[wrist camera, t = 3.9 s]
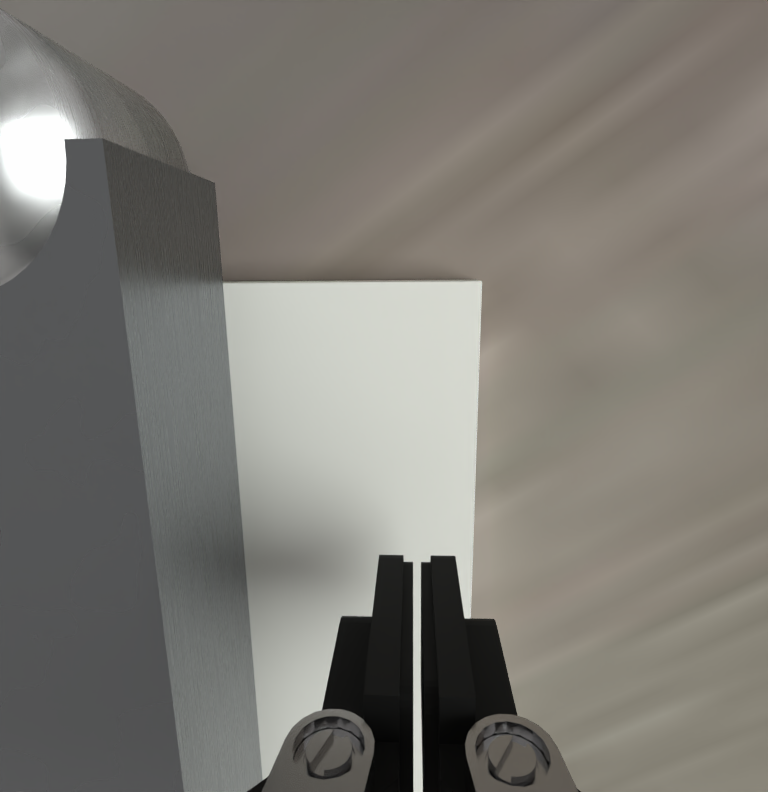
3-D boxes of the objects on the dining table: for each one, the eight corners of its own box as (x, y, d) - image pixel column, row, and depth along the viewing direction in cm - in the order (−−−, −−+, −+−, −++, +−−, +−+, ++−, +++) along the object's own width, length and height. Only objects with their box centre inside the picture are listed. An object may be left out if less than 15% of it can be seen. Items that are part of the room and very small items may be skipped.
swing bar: (-47, 78, 10) (-316, -30, 7) (205, 71, 10) (79, -47, 6) (114, 961, 16) (21, 1179, 12) (277, 971, 16) (234, 1197, 12)
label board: (-169, 153, 13) (-284, 131, 11) (480, 139, 13) (495, 112, 10) (0, 863, 19) (-55, 942, 17) (456, 886, 18) (463, 973, 16)
